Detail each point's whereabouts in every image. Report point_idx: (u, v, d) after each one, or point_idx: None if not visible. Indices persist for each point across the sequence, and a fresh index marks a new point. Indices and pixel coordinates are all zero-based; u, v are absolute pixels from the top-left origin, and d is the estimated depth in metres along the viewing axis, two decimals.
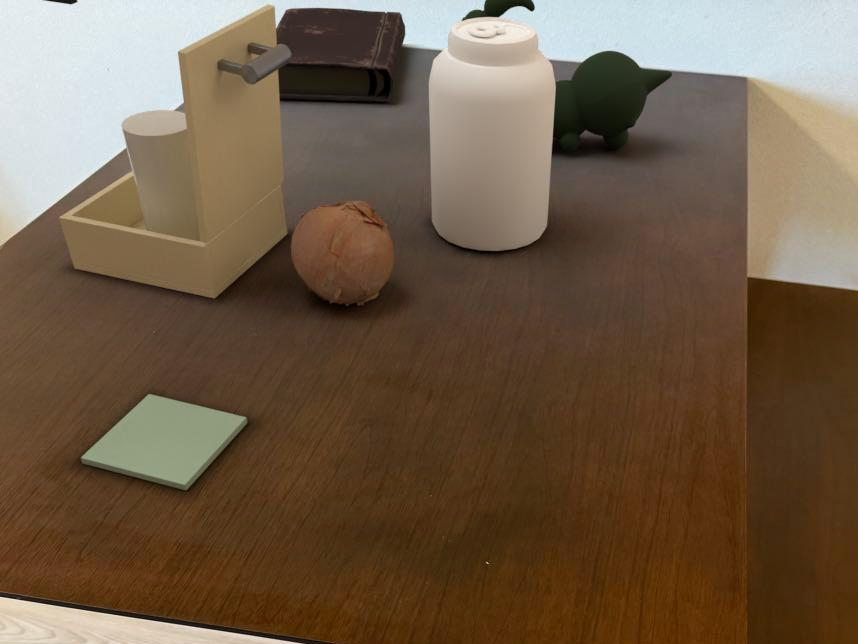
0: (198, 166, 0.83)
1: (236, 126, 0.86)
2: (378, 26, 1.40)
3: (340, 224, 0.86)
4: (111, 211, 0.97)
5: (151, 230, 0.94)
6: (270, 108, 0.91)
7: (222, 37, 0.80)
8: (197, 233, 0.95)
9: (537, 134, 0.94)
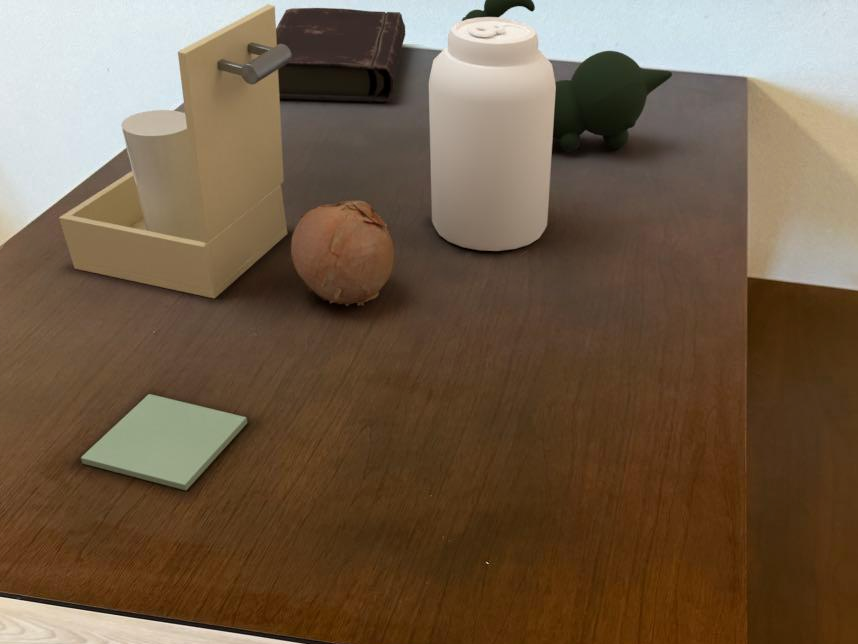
0: (198, 166, 0.83)
1: (236, 126, 0.86)
2: (378, 26, 1.40)
3: (340, 224, 0.86)
4: (111, 211, 0.97)
5: (151, 230, 0.94)
6: (270, 108, 0.91)
7: (222, 37, 0.80)
8: (197, 233, 0.95)
9: (537, 134, 0.94)
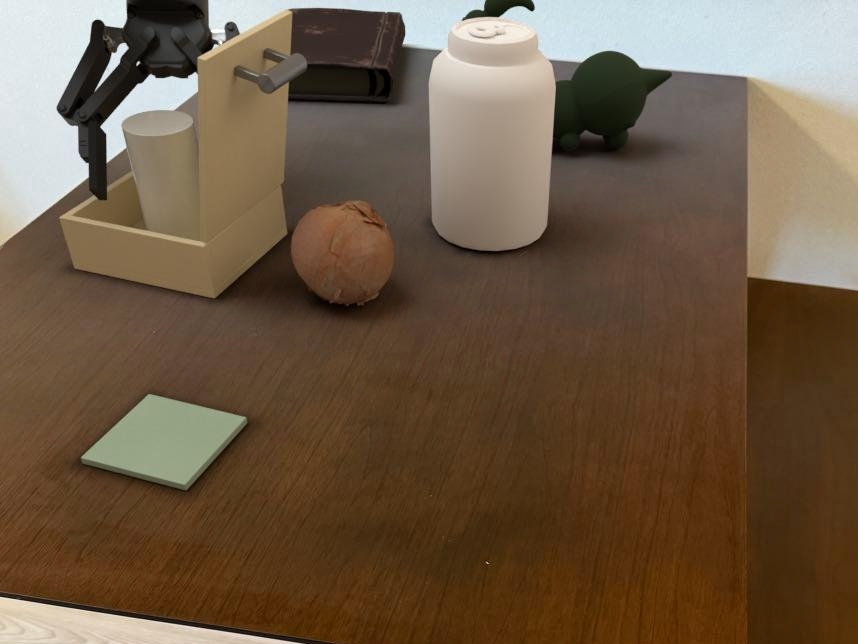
0: (206, 169, 0.83)
1: (246, 129, 0.86)
2: (378, 26, 1.40)
3: (340, 224, 0.86)
4: (111, 211, 0.97)
5: (151, 230, 0.94)
6: (278, 111, 0.91)
7: (241, 43, 0.80)
8: (197, 233, 0.95)
9: (537, 134, 0.94)
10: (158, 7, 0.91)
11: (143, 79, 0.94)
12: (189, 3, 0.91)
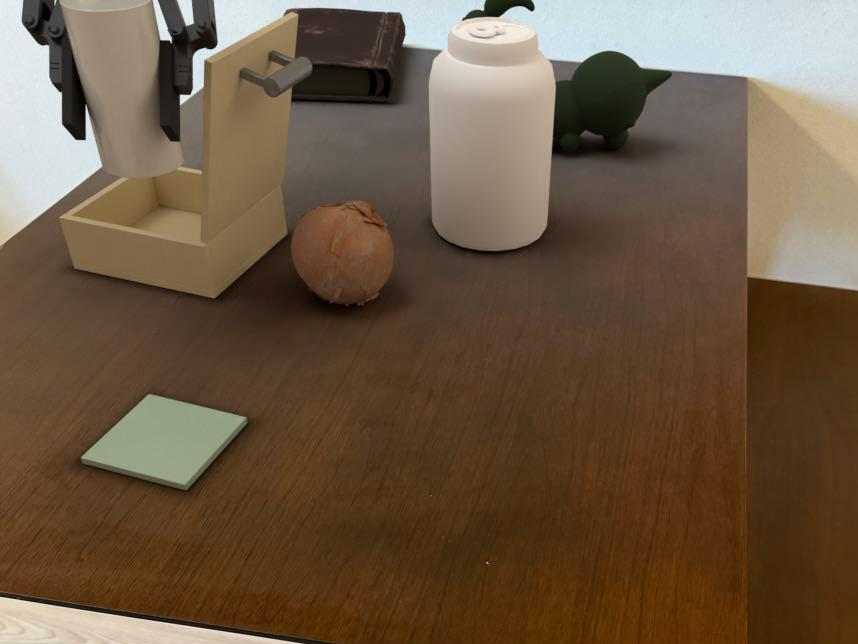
0: (209, 170, 0.83)
1: (249, 130, 0.86)
2: (378, 26, 1.40)
3: (340, 223, 0.86)
4: (111, 211, 0.97)
5: (101, 142, 0.75)
6: (281, 113, 0.91)
7: (247, 46, 0.80)
8: (160, 146, 0.75)
9: (537, 134, 0.94)
10: None
11: None
12: None
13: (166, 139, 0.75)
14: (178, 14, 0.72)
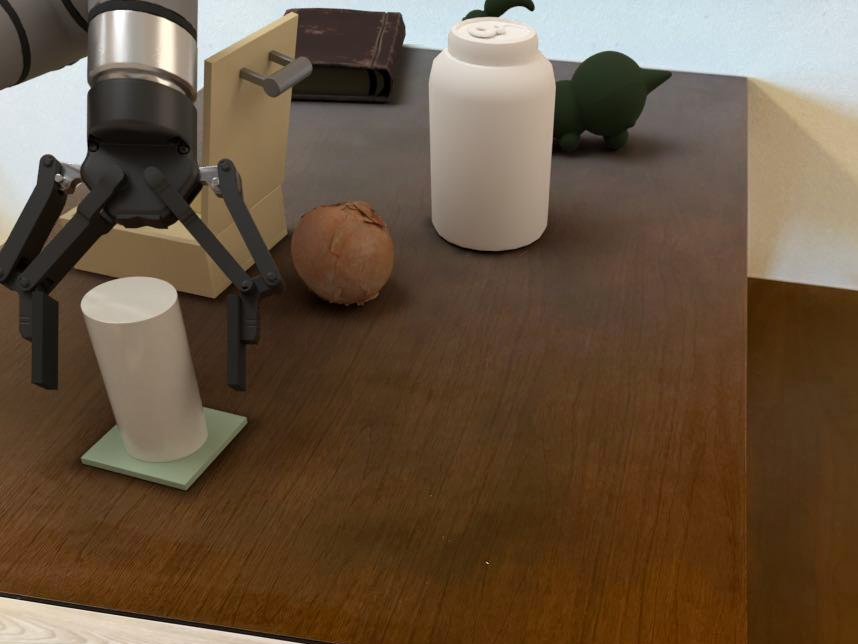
0: None
1: (249, 130, 0.86)
2: (378, 26, 1.40)
3: (340, 224, 0.86)
4: None
5: (123, 429, 0.71)
6: (281, 113, 0.91)
7: (247, 46, 0.80)
8: (183, 432, 0.72)
9: (537, 134, 0.94)
10: (128, 139, 0.68)
11: (109, 228, 0.71)
12: (170, 135, 0.68)
13: (189, 424, 0.72)
14: (240, 267, 0.69)
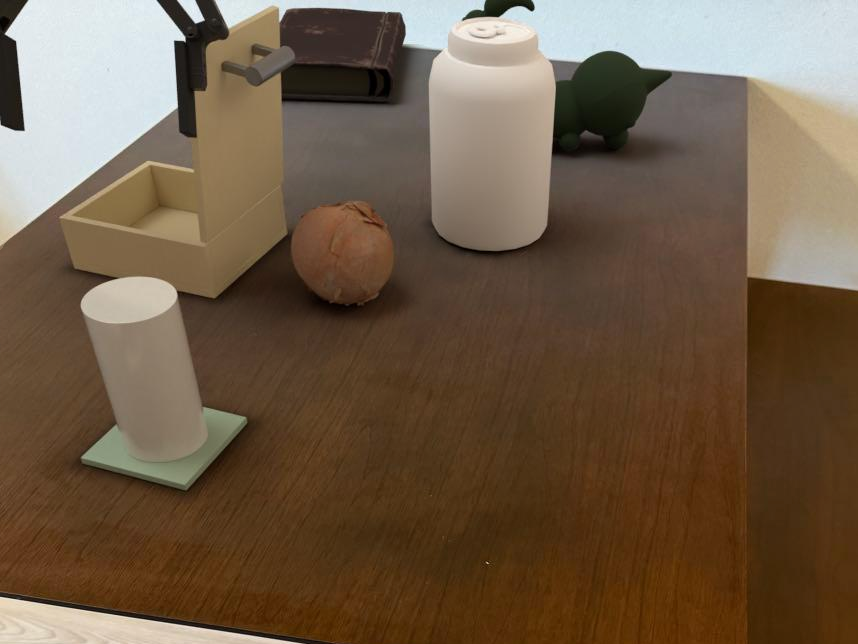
0: (200, 167, 0.83)
1: (239, 126, 0.86)
2: (378, 26, 1.40)
3: (340, 224, 0.86)
4: (111, 211, 0.97)
5: (123, 429, 0.71)
6: (272, 109, 0.91)
7: (227, 38, 0.80)
8: (183, 432, 0.72)
9: (537, 134, 0.94)
10: None
11: None
12: None
13: (189, 424, 0.72)
14: (184, 12, 0.73)
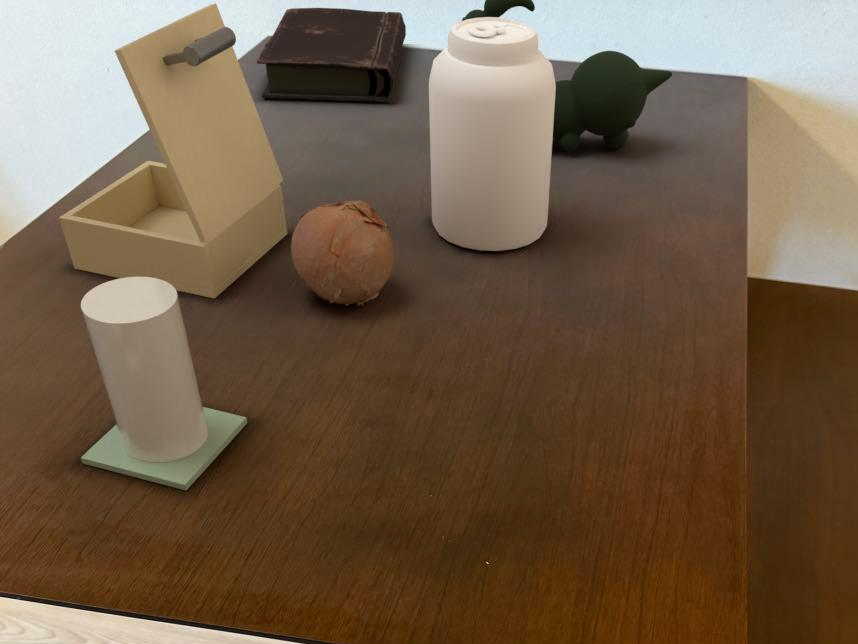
0: (171, 163, 0.83)
1: (206, 122, 0.87)
2: (378, 26, 1.40)
3: (340, 224, 0.86)
4: (111, 211, 0.97)
5: (123, 429, 0.71)
6: (242, 105, 0.92)
7: (161, 33, 0.82)
8: (183, 432, 0.72)
9: (537, 134, 0.94)
10: None
11: None
12: None
13: (189, 424, 0.72)
14: None
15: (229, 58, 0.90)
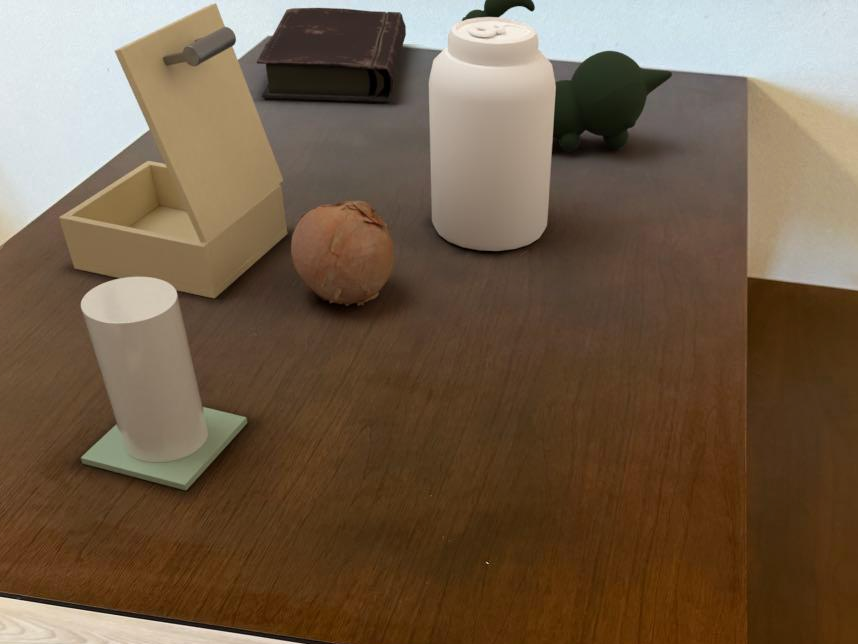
0: (171, 163, 0.83)
1: (206, 122, 0.87)
2: (378, 26, 1.40)
3: (340, 223, 0.86)
4: (111, 211, 0.97)
5: (123, 429, 0.71)
6: (242, 105, 0.92)
7: (161, 33, 0.82)
8: (183, 432, 0.72)
9: (537, 134, 0.94)
10: None
11: None
12: None
13: (189, 424, 0.72)
14: None
15: (229, 58, 0.90)
